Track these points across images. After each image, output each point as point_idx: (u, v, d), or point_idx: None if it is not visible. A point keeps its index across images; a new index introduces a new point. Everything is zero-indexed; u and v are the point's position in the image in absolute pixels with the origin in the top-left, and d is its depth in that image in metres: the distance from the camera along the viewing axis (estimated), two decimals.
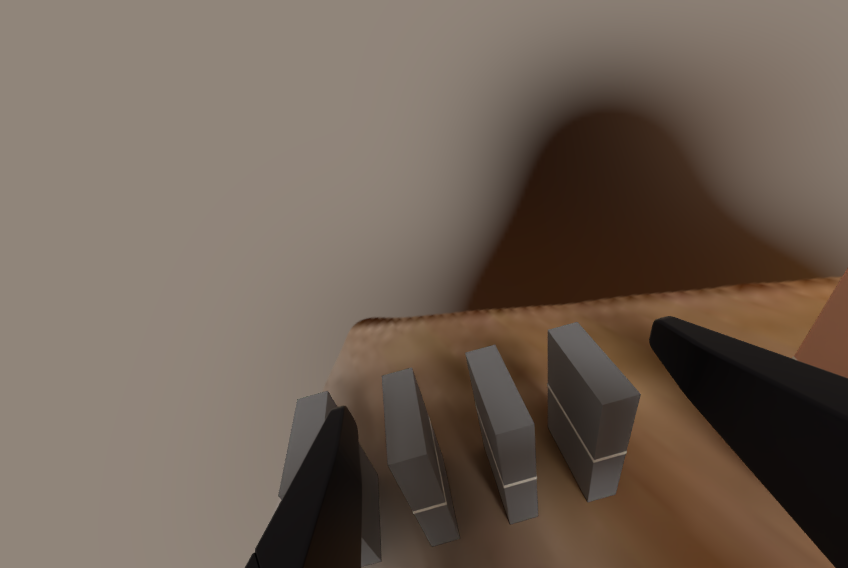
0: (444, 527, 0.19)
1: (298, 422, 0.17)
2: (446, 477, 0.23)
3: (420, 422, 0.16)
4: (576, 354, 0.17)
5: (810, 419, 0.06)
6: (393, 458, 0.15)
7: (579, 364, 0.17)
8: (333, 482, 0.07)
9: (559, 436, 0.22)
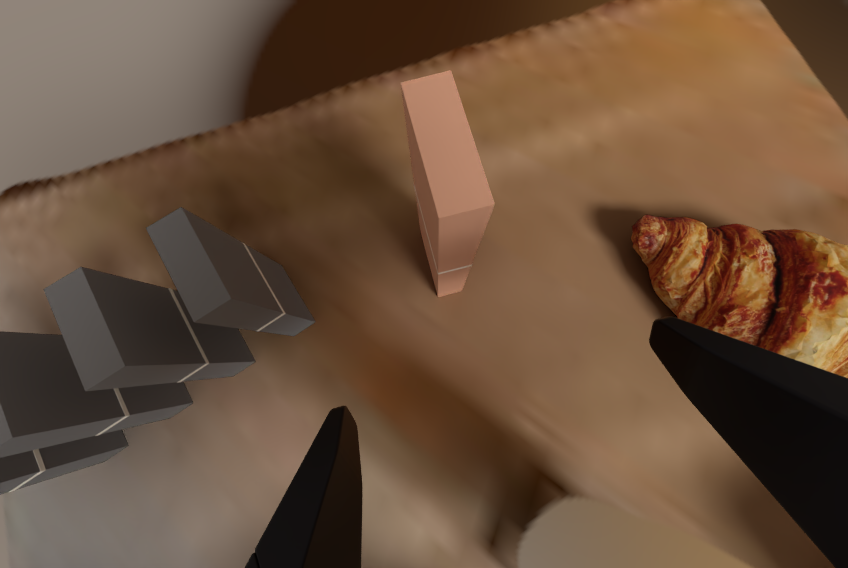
0: (160, 413, 0.21)
1: None
2: None
3: (0, 402, 0.13)
4: (175, 258, 0.15)
5: (810, 419, 0.06)
6: None
7: (177, 274, 0.14)
8: (334, 482, 0.07)
9: None
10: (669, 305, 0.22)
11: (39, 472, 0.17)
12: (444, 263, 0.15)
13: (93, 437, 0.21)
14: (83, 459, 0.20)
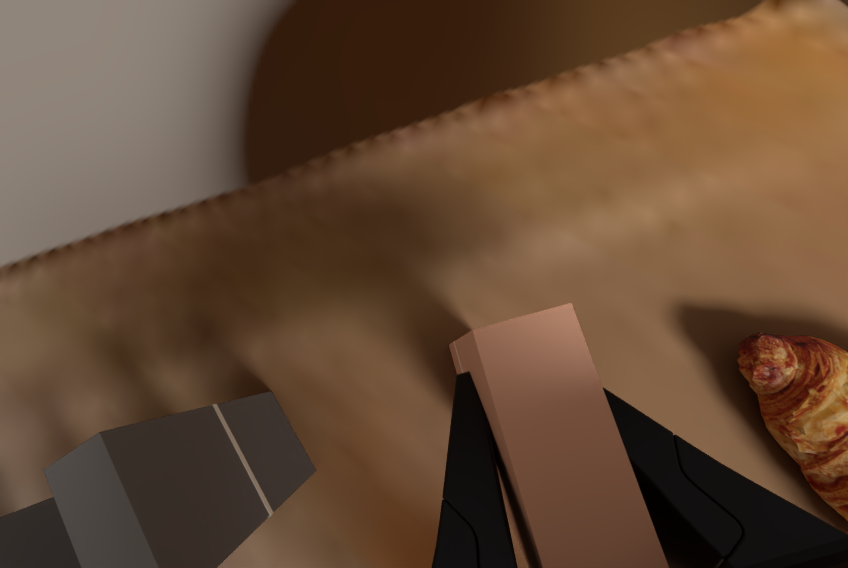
0: None
1: None
2: None
3: None
4: (88, 529, 0.09)
5: None
6: None
7: (89, 557, 0.09)
8: None
9: None
10: (790, 453, 0.17)
11: None
12: None
13: None
14: None
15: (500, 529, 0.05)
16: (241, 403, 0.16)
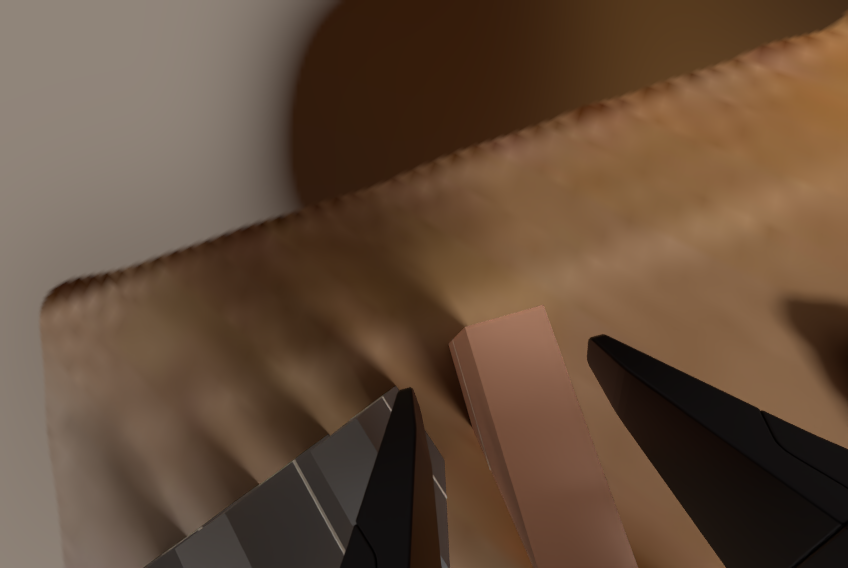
0: None
1: None
2: None
3: None
4: (359, 503, 0.10)
5: (712, 447, 0.06)
6: None
7: None
8: (417, 459, 0.07)
9: None
10: None
11: None
12: None
13: None
14: None
15: (400, 557, 0.05)
16: (390, 396, 0.17)
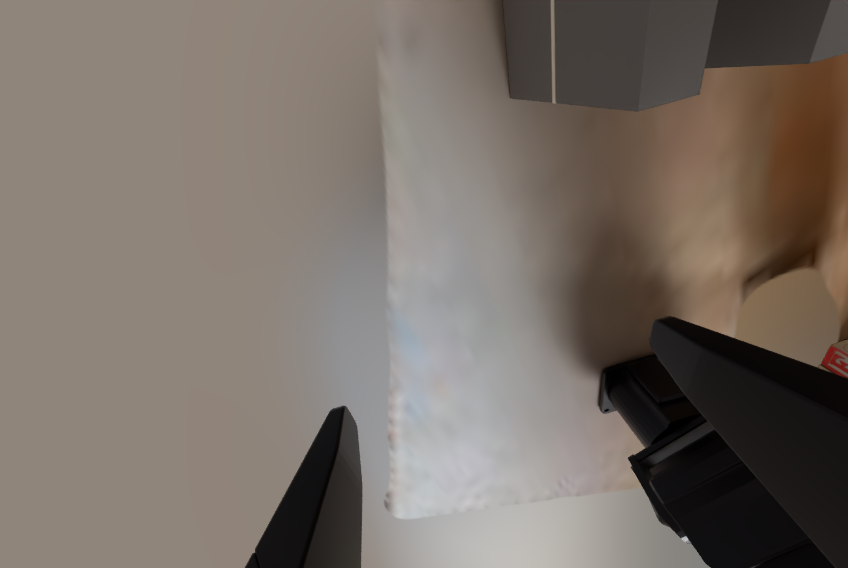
0: None
1: None
2: None
3: None
4: None
5: (810, 419, 0.06)
6: (822, 51, 0.09)
7: None
8: (333, 482, 0.07)
9: None
10: None
11: None
12: None
13: None
14: None
15: None
16: None
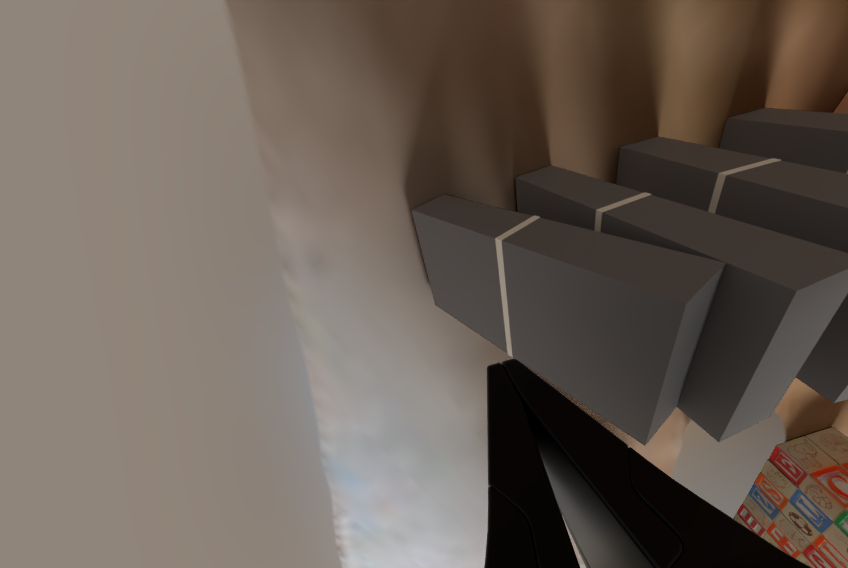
0: None
1: (677, 351, 0.07)
2: None
3: (791, 378, 0.08)
4: None
5: (580, 484, 0.06)
6: (729, 433, 0.09)
7: None
8: (529, 428, 0.07)
9: None
10: None
11: None
12: None
13: None
14: None
15: (552, 514, 0.05)
16: None
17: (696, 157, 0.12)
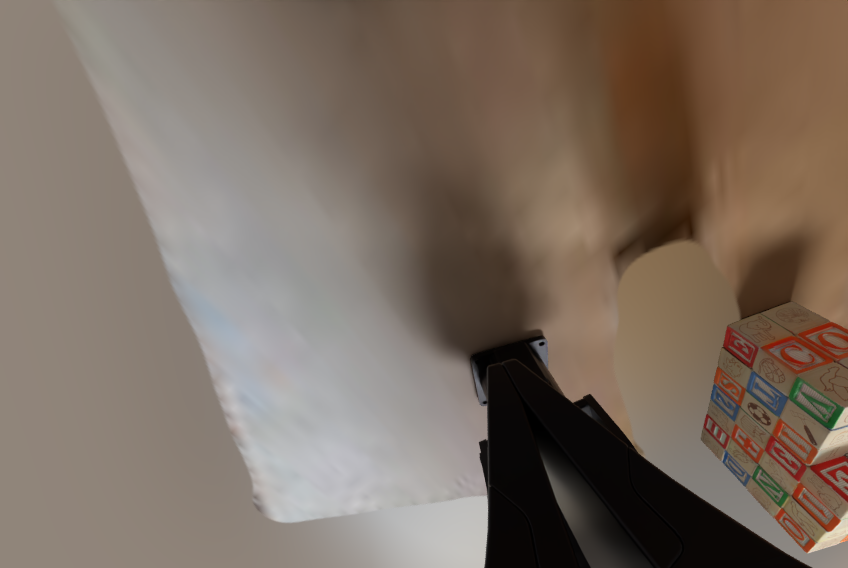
0: None
1: None
2: None
3: None
4: None
5: (580, 484, 0.06)
6: None
7: None
8: (529, 428, 0.07)
9: None
10: None
11: None
12: None
13: None
14: None
15: (552, 514, 0.05)
16: None
17: None
